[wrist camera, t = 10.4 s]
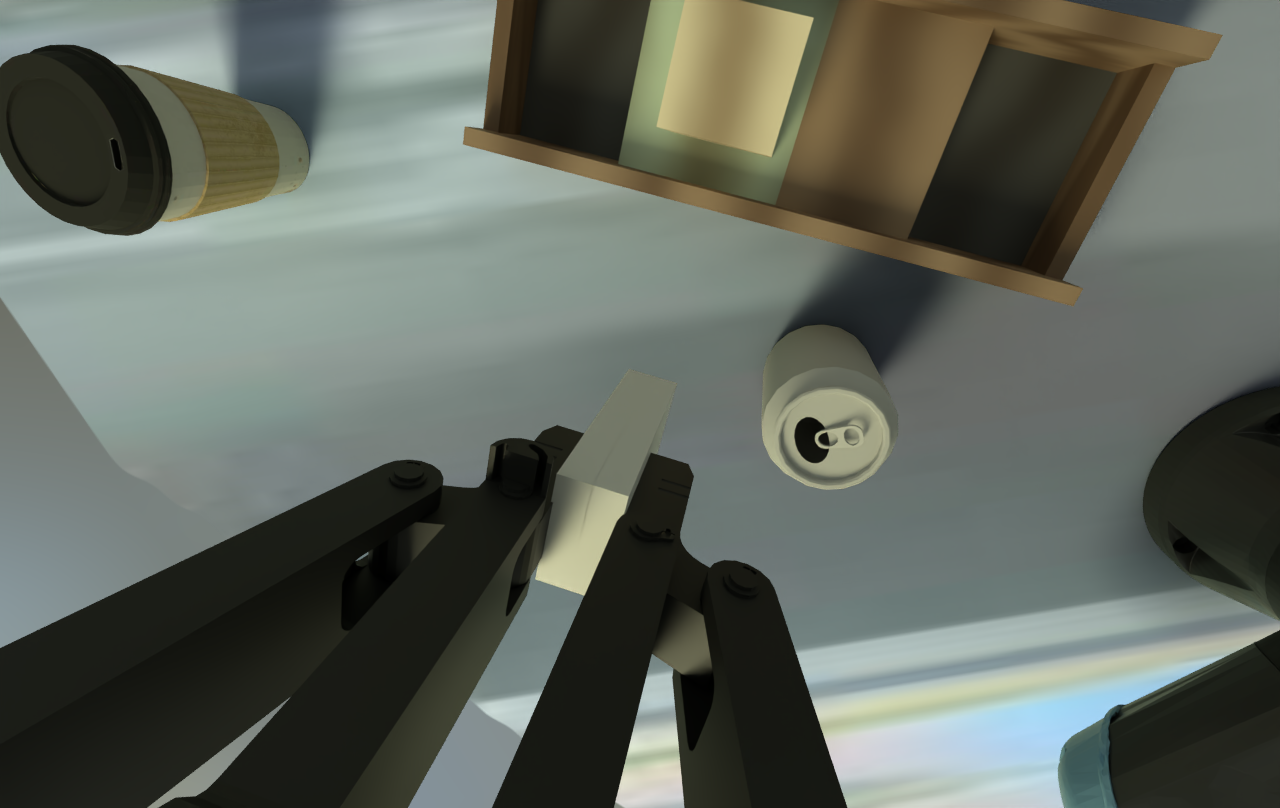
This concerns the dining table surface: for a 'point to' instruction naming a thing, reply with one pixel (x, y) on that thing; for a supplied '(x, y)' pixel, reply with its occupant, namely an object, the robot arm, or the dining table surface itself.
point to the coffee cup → (137, 142)
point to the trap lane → (862, 122)
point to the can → (826, 409)
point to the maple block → (733, 73)
